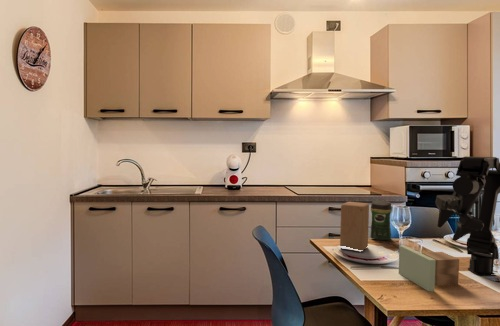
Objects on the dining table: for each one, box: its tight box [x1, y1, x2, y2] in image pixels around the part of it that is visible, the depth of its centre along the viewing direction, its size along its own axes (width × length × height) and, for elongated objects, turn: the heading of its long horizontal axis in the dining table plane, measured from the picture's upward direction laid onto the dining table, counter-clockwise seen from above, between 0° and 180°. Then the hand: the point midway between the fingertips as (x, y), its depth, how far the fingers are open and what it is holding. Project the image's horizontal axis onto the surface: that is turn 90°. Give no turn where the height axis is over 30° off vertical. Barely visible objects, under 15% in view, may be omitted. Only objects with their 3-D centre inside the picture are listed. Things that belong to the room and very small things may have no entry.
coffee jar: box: [369, 200, 393, 241], centre depth 172 cm, size 10×8×19 cm
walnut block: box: [421, 251, 460, 286], centre depth 120 cm, size 8×8×8 cm
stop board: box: [398, 244, 436, 292], centre depth 119 cm, size 2×16×10 cm, turn 10°
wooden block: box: [339, 201, 370, 251], centre depth 155 cm, size 10×10×20 cm
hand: (446, 233), depth 121 cm, fingers open, 9 cm apart
